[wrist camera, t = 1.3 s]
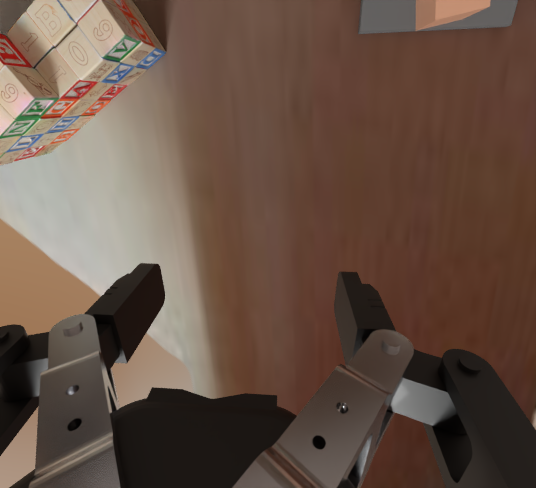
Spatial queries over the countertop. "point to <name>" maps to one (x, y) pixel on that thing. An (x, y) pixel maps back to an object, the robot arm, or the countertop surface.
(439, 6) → the terracotta cube
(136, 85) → the countertop surface
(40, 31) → the stack of blocks
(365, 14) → the mat
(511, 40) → the countertop surface
